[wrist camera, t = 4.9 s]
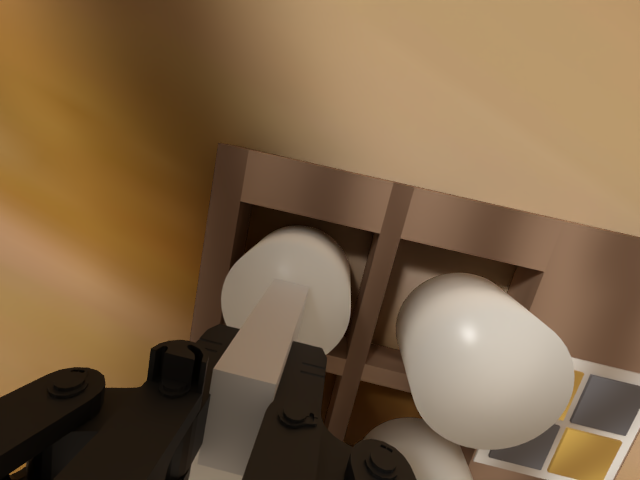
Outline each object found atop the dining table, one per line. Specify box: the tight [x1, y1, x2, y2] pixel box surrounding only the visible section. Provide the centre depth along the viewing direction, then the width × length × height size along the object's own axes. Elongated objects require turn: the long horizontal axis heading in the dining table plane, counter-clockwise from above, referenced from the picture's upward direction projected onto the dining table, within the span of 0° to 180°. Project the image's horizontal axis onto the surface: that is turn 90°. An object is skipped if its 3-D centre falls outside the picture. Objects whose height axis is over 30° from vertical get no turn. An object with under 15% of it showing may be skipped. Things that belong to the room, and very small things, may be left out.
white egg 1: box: [221, 225, 351, 355], centre depth 17 cm, size 6×6×4 cm
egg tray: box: [190, 143, 640, 480], centre depth 19 cm, size 24×20×3 cm
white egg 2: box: [396, 273, 574, 450], centre depth 14 cm, size 6×6×4 cm
